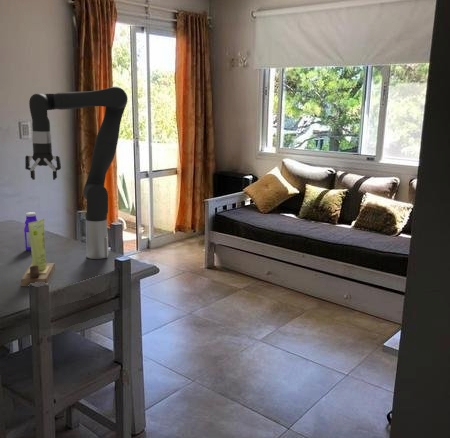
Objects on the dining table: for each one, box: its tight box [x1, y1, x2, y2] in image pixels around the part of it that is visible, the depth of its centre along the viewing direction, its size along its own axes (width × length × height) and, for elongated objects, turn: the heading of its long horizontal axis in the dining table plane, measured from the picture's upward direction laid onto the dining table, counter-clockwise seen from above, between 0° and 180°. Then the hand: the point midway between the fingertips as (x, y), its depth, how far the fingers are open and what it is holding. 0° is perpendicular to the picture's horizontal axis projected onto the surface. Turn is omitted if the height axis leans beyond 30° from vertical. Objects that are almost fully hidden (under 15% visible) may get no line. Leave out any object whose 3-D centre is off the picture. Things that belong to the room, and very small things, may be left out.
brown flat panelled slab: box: [20, 262, 56, 286], centre depth 189 cm, size 9×18×7 cm, turn 9°
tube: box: [28, 218, 47, 270], centre depth 187 cm, size 6×5×20 cm
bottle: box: [23, 211, 38, 252], centre depth 222 cm, size 7×6×17 cm
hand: (44, 179), depth 210 cm, fingers open, 8 cm apart
